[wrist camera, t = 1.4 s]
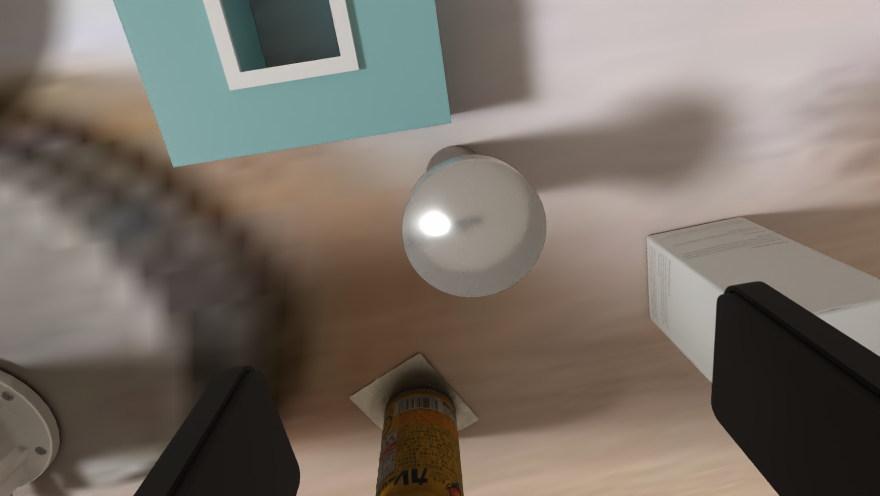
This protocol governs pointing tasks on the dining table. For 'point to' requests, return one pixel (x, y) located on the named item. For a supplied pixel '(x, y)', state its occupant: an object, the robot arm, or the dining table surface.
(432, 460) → the condiment
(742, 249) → the supplement box
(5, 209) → the dining table surface
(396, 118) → the dock
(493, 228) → the bolt
